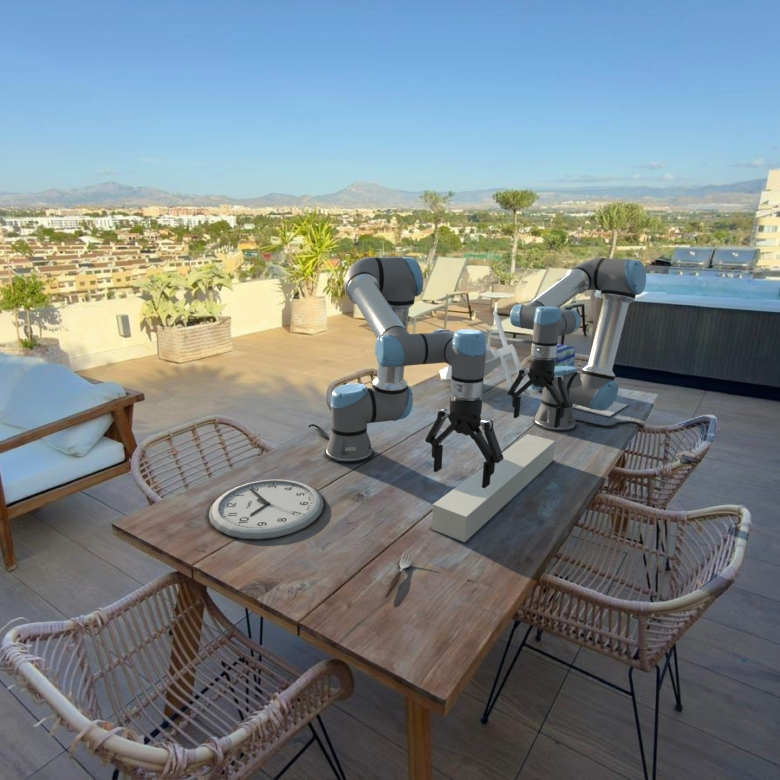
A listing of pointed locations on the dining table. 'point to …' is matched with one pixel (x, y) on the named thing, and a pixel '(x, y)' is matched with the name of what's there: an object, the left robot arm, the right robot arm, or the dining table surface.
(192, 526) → the dining table surface
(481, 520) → the off-white long beam
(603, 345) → the right robot arm
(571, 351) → the lunch box
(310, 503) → the wall clock
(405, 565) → the fork
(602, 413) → the invitation card
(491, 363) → the white plastic object
